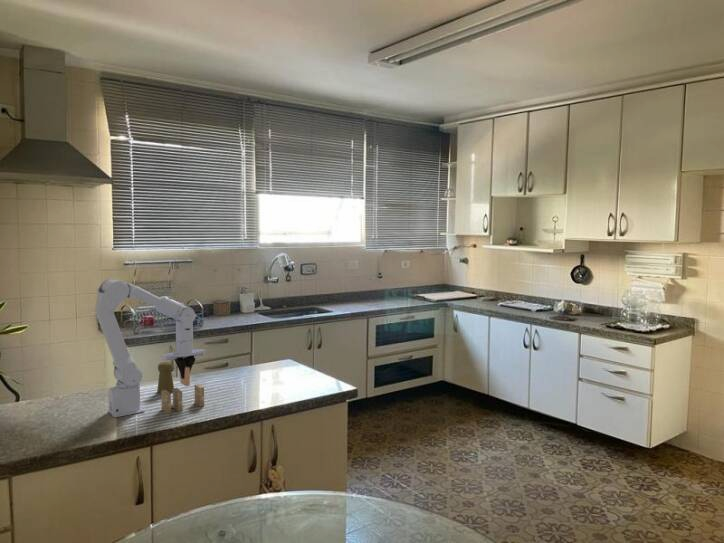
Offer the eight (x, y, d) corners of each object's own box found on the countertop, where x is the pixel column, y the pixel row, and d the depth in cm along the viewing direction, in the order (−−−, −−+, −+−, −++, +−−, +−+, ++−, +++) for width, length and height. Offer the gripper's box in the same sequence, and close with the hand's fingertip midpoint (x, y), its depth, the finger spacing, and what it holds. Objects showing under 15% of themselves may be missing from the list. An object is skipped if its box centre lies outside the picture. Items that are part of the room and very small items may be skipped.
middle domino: (178, 411, 182) (177, 392, 181) (172, 407, 186) (172, 388, 185) (182, 410, 183) (182, 391, 182) (177, 406, 187) (176, 387, 186)
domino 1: (166, 413, 179) (166, 394, 179) (161, 409, 183) (161, 390, 183) (171, 412, 180) (170, 393, 180) (165, 408, 184) (165, 389, 184)
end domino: (200, 406, 186) (200, 388, 186) (194, 402, 190) (194, 384, 190) (204, 406, 187) (204, 387, 187) (198, 402, 191) (198, 384, 191)
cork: (170, 394, 199) (170, 364, 198) (154, 394, 200) (153, 364, 199) (176, 389, 205) (176, 360, 204) (160, 389, 206) (160, 360, 205)
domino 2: (185, 386, 191) (185, 368, 190) (180, 382, 195) (180, 364, 194) (189, 385, 192) (189, 367, 191) (184, 381, 196) (184, 364, 195)
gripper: (200, 335, 200) (200, 372, 201) (159, 340, 191) (160, 378, 192) (207, 338, 194) (208, 376, 195) (166, 344, 185) (167, 383, 186)
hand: (185, 377), depth 193 cm, fingers closed on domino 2, 1 cm apart
